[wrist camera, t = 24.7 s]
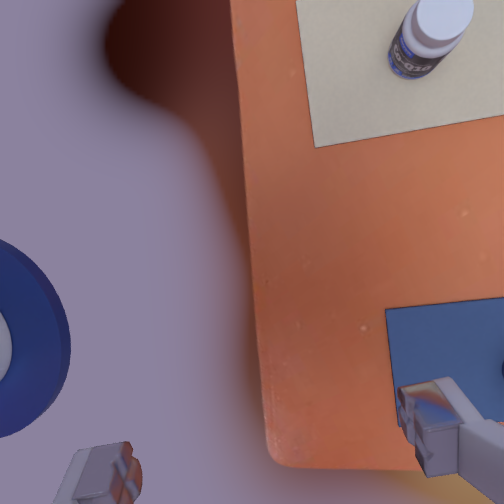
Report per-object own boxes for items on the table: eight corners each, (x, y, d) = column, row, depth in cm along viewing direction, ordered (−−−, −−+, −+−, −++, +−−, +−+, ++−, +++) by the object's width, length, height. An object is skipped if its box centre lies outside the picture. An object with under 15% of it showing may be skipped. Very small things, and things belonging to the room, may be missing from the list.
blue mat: (398, 425, 41) (399, 427, 40) (384, 309, 39) (385, 310, 39) (562, 416, 38) (565, 418, 38) (554, 291, 37) (557, 292, 36)
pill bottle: (377, 66, 36) (397, 26, 28) (405, 18, 35) (434, -38, 27) (421, 90, 36) (454, 57, 28) (450, 42, 35) (494, -7, 27)
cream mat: (314, 148, 38) (314, 147, 38) (295, 2, 37) (295, 0, 36) (531, 110, 35) (533, 109, 35) (520, -52, 33) (522, -54, 33)
